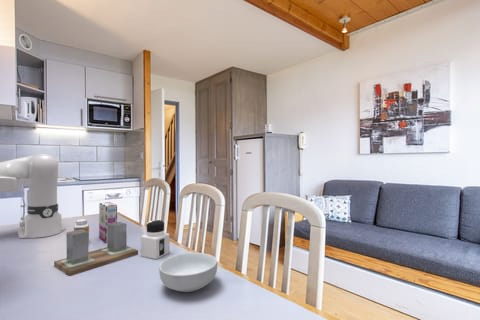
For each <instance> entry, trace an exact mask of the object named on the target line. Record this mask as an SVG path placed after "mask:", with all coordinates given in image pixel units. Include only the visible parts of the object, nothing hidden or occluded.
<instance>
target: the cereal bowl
mask: <svg viewBox="0 0 480 320" xmlns="http://www.w3.org/2000/svg"><path fill="white" fill-rule="evenodd" d="M217 269H218V261H217V258H216V257H215V256H214V255H212V254H209V253H203V252H182V253H179V254H175V255H172V256H169V257H167V258H165V259H164V260H162V261H161V262H160V264H159V266H158V272H159V273H158V274H159V278H160V280H161V282H162V284H163V285H164V286H165V287H166V288H169V289H170V290H173V291H176V292H177V291H178V292H181V293H191V292H196V291H198V290H200V289H201V288H204V287H205V286H207V285H208V284H210V283H211V282H212V281H213V280H214V278H215V276H216V274H217V271H218V270H217Z"/></svg>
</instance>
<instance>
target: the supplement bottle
mask: <svg viewBox="0 0 480 320" xmlns="http://www.w3.org/2000/svg"><path fill="white" fill-rule="evenodd" d="M81 229H83V230H85V231H88V243H89V242H90V225H89V224H88V220H87V219H85V218H84V219H82V218H81V219H77V220H76V222H75V225H74V226H73V231H76V230H81Z"/></svg>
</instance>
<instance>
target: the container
mask: <svg viewBox="0 0 480 320" xmlns="http://www.w3.org/2000/svg"><path fill="white" fill-rule="evenodd" d="M170 235H171V234H170V233H167V232H165V222H164V220H161V219H154V220H150V221H148V222H147V223H146V234H143V235H140V256H141V257H145V258H148V259H153V260H157V259H160V258H162V257H164V256H166V255H168V254H170V249H171V248H170V244H171V243H170V242H171V241H170V238H171V237H170Z"/></svg>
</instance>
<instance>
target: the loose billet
mask: <svg viewBox="0 0 480 320" xmlns="http://www.w3.org/2000/svg"><path fill="white" fill-rule="evenodd" d="M88 252H89V242H88V231H85V230H83V229H81V230H76V231H74V230H73V231H67V232H66V258H67V262H69V263H70V264H72V265H74V264H77V263H81V262H84V261H88Z"/></svg>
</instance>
